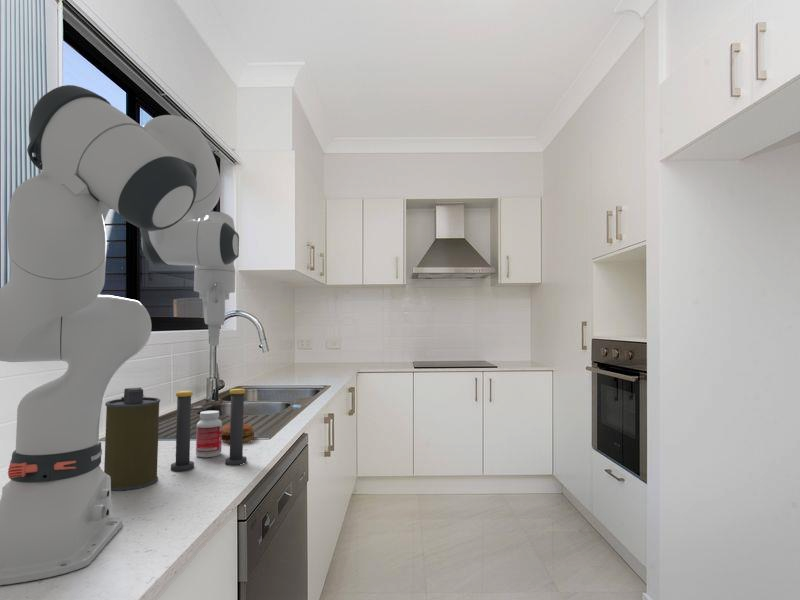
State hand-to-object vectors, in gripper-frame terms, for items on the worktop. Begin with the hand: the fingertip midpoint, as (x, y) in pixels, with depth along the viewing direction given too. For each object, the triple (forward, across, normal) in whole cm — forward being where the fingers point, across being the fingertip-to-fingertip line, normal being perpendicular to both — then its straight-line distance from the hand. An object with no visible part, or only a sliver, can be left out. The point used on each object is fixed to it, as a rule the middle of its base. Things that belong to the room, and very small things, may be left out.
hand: (213, 345), depth 111 cm
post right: (+29, +8, -6) cm, 31 cm away
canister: (+29, +1, +16) cm, 33 cm away
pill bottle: (+29, +18, 0) cm, 34 cm away
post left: (+29, +8, +6) cm, 31 cm away
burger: (+30, +32, -8) cm, 44 cm away
